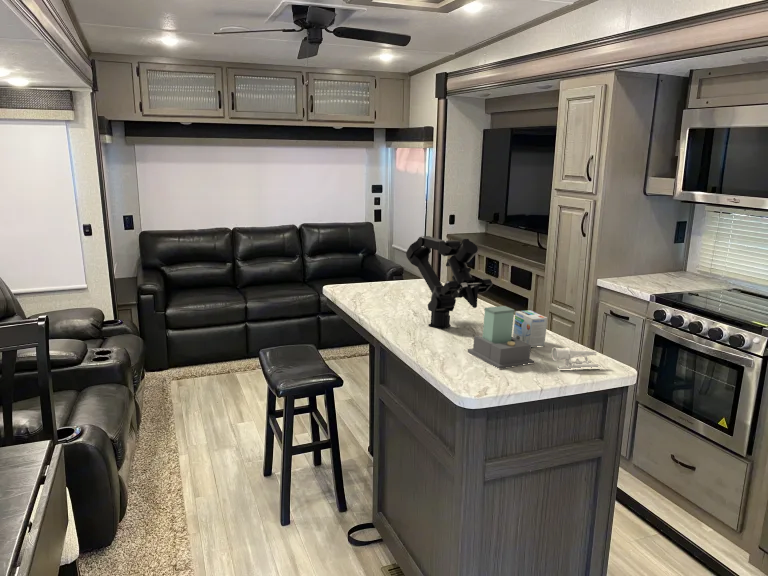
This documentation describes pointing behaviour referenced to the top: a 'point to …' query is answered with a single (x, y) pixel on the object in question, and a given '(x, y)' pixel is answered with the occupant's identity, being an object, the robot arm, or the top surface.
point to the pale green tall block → (498, 324)
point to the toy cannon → (570, 353)
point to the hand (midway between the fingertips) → (475, 307)
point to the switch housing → (501, 352)
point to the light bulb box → (530, 328)
